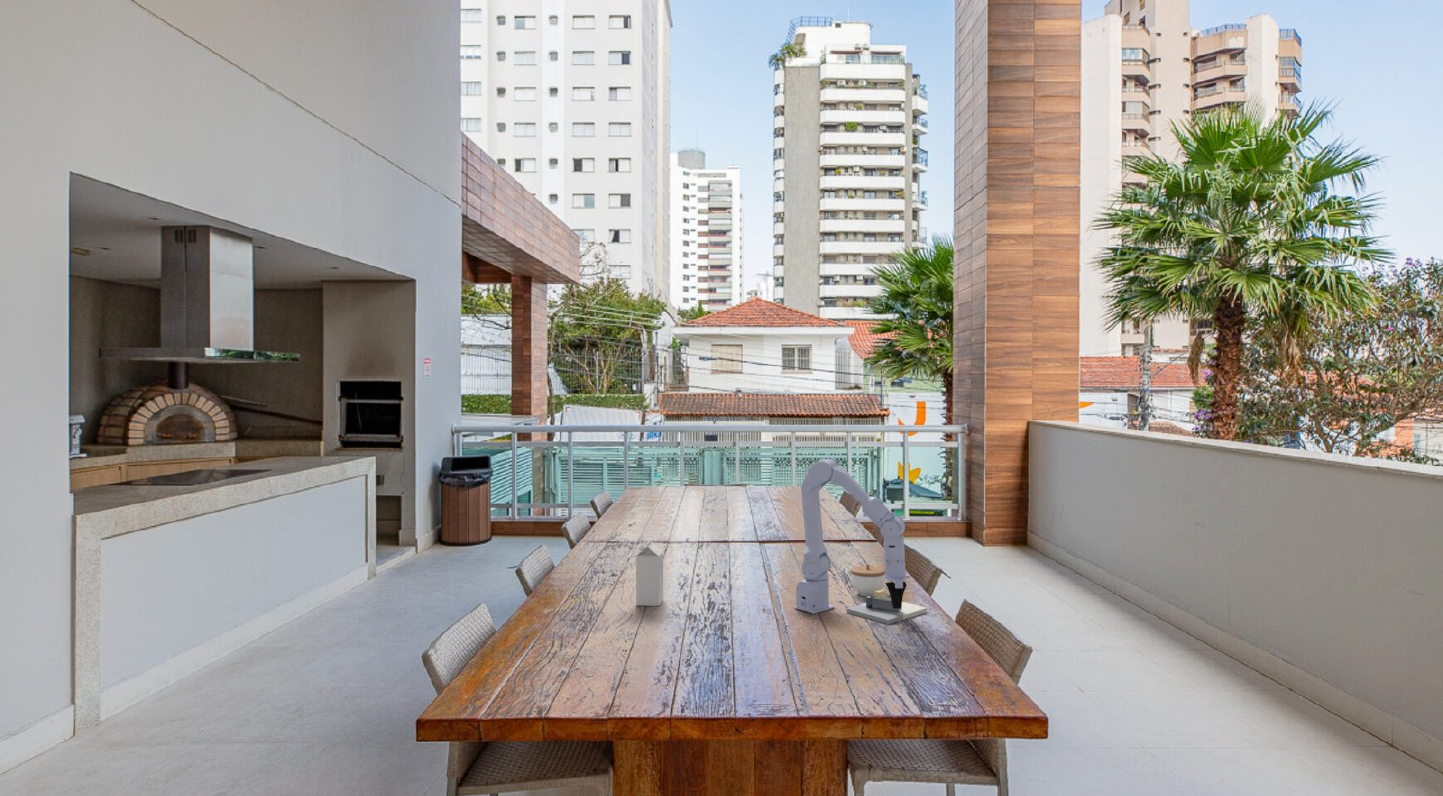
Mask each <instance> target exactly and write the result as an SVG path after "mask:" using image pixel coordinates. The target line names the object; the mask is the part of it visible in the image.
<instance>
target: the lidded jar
mask: <svg viewBox="0 0 1443 796" xmlns="http://www.w3.org/2000/svg"><path fill="white" fill-rule="evenodd" d="M884 575H885V568H883V567H880V566H876V565H875V566H873V565H870V564H869V563H866V564H865V565H857V566H856V565H855V566H853V567H851V568H850V579H851V584H852V588H853V589H854V590H855V592H856V593H858V595H859V596H862V597H866V596H875V591H878V590H883V588H884V586H885V580H886V579H885V578H884Z"/></svg>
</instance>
